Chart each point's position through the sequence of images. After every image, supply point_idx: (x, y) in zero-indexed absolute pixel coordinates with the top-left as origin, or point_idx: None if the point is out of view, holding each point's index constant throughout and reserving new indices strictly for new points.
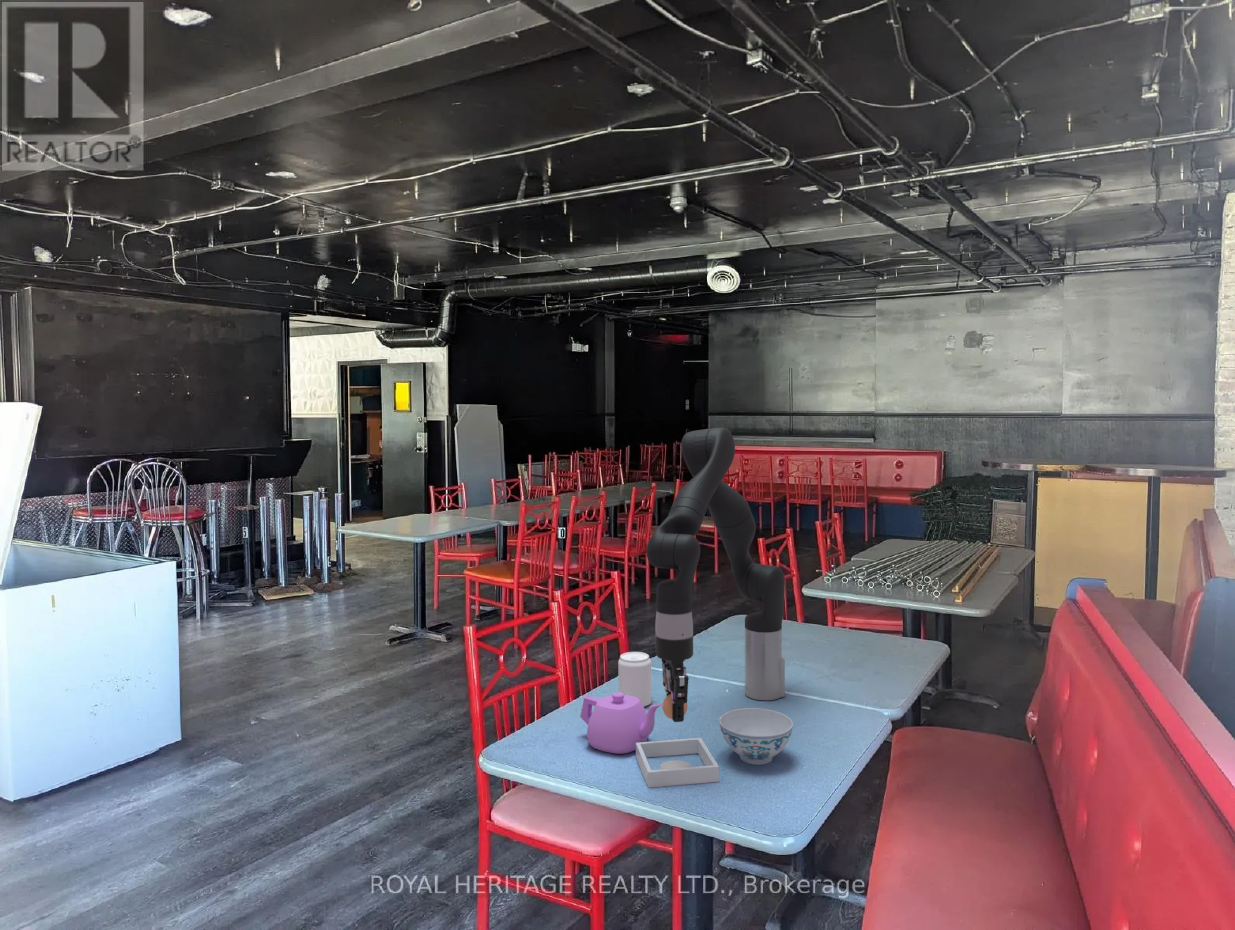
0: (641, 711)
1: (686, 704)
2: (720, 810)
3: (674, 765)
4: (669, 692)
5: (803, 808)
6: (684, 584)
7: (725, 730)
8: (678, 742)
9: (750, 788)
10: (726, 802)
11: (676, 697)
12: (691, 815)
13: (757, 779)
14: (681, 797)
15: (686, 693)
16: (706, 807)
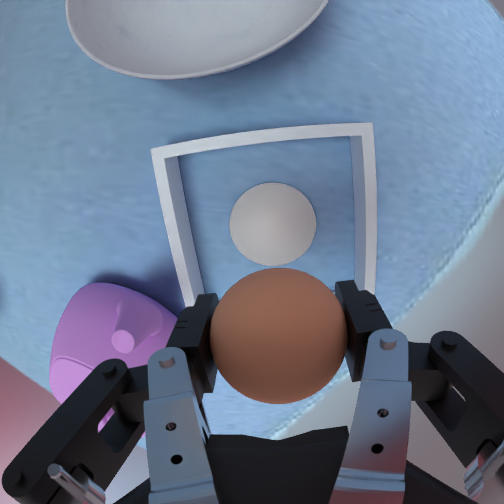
0: (102, 346)
1: (305, 290)
2: (475, 159)
3: (261, 228)
4: (202, 387)
5: (467, 3)
6: None
7: (251, 62)
8: (177, 219)
9: (396, 58)
10: (451, 136)
11: (461, 404)
12: (478, 221)
13: (349, 26)
14: (418, 230)
15: (498, 376)
16: (462, 185)
